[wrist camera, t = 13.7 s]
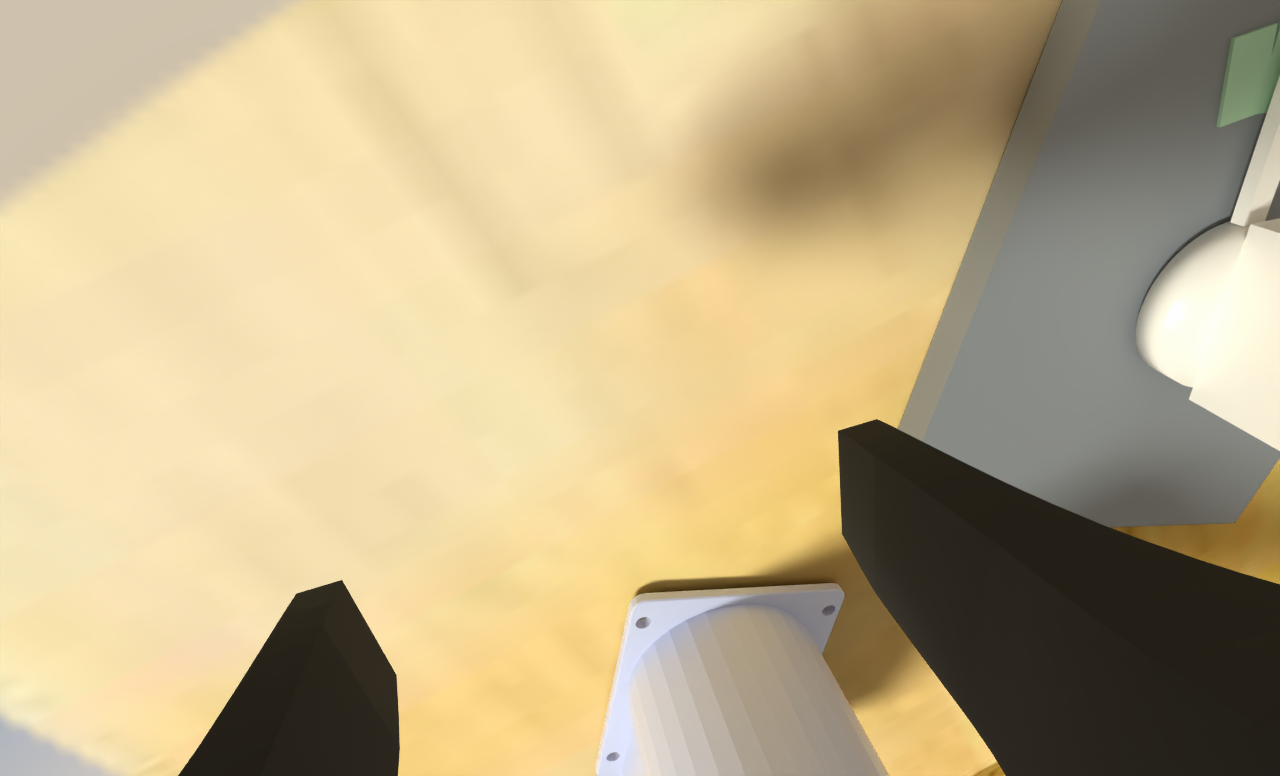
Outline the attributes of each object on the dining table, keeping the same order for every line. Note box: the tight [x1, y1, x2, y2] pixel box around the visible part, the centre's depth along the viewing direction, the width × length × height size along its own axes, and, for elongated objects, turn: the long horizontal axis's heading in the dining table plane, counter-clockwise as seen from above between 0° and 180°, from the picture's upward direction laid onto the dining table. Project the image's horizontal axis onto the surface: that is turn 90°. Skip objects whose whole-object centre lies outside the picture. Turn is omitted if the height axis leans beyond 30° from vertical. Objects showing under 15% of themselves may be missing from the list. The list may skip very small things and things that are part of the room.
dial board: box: [898, 0, 1280, 527], centre depth 22 cm, size 18×16×1 cm
